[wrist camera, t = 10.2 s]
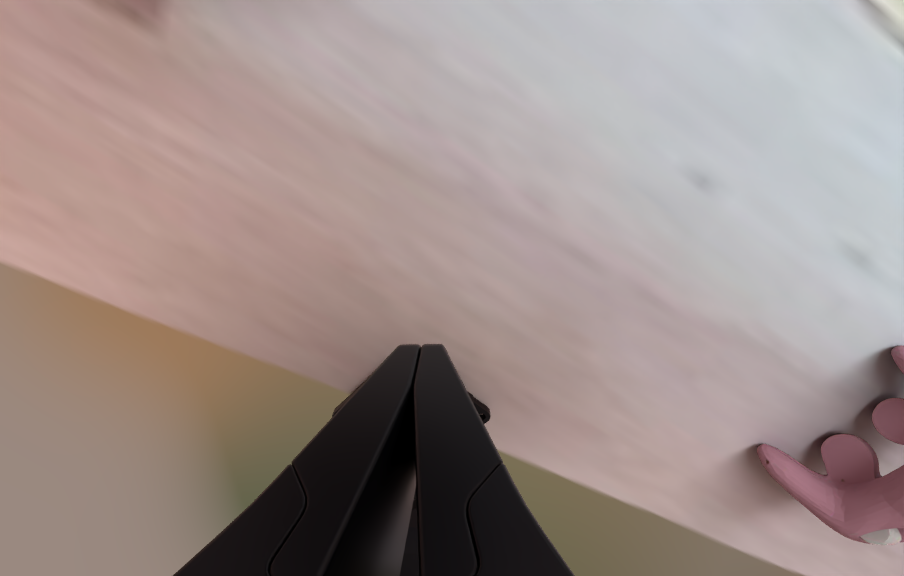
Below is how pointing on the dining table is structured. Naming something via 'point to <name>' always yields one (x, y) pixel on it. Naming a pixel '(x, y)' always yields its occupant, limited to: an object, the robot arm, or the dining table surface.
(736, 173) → the dining table surface
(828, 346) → the dining table surface
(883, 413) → the pink curved piece
